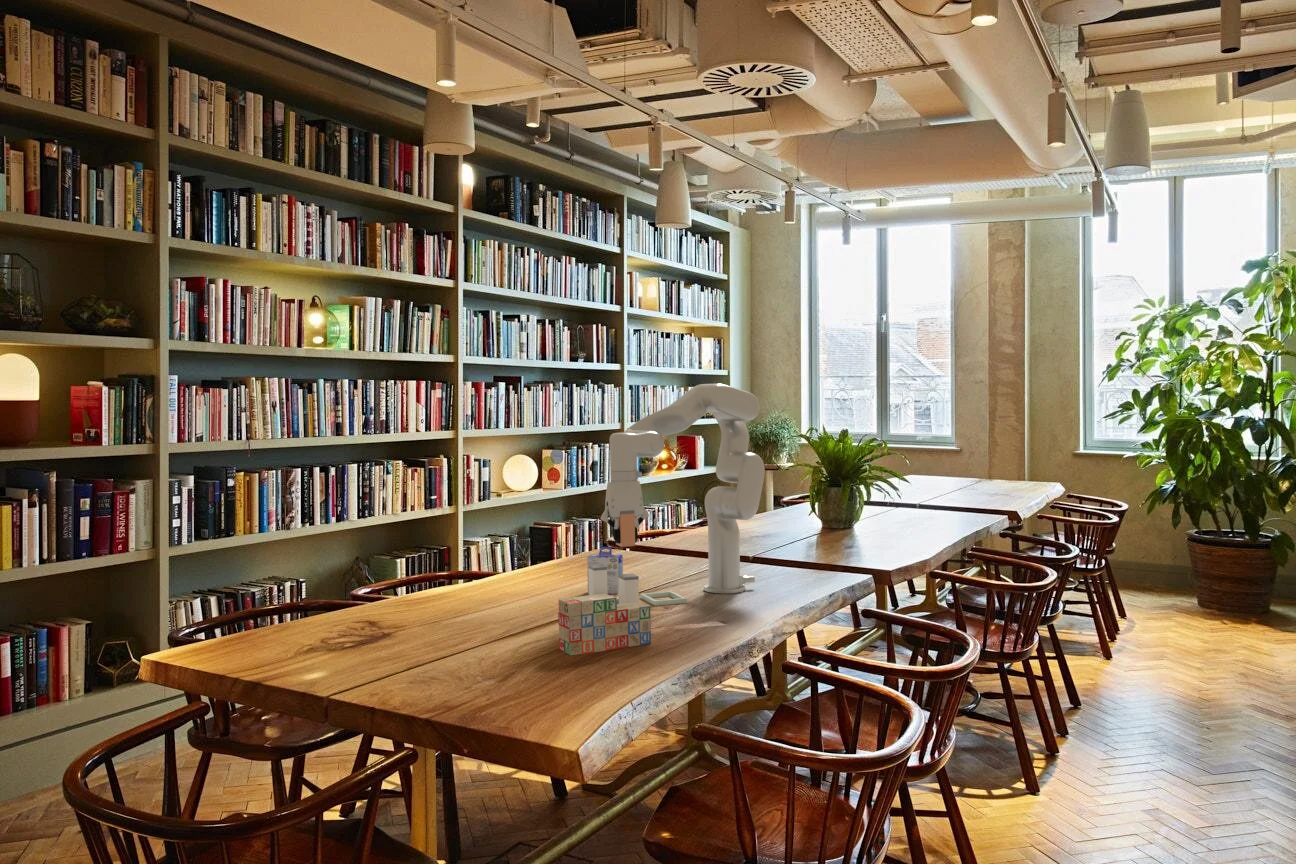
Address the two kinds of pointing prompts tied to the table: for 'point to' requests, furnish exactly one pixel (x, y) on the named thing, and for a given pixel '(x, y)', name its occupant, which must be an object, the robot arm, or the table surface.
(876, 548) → the table surface
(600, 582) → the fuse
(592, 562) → the ink cartridge box
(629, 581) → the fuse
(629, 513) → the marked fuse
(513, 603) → the table surface
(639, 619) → the stack of blocks
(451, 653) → the table surface
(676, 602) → the tray
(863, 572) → the table surface
